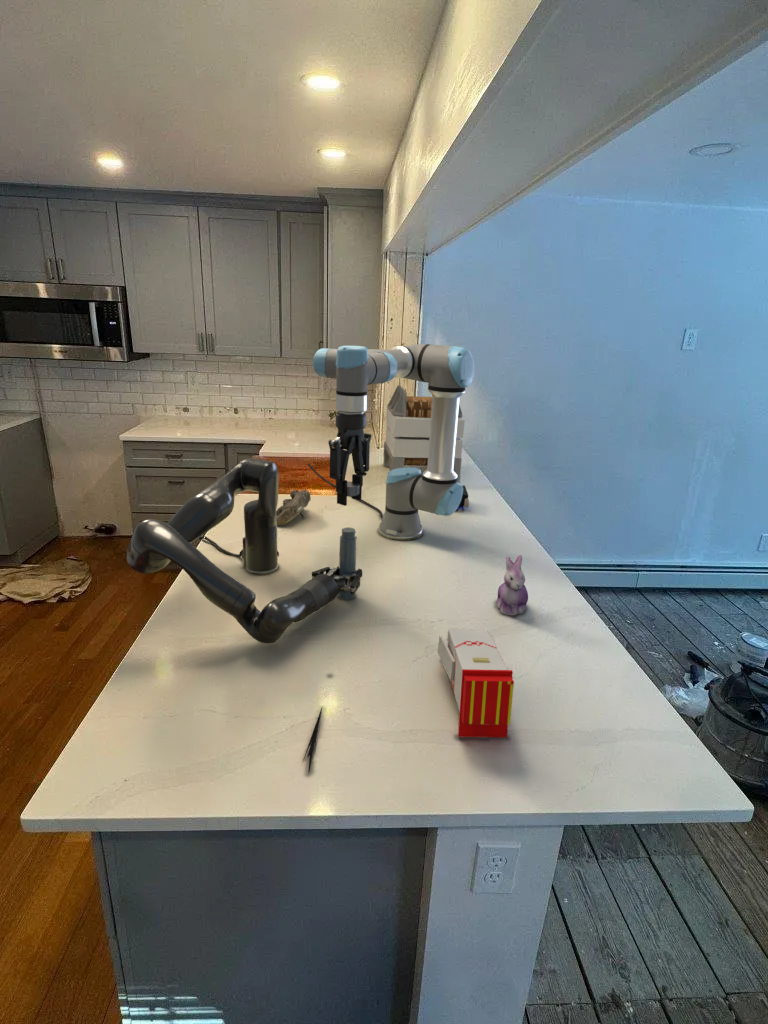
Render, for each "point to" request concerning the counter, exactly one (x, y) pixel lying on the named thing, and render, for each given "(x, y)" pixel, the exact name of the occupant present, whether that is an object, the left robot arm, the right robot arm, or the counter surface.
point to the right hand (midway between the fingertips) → (349, 501)
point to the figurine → (512, 589)
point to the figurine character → (464, 499)
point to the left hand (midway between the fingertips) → (352, 569)
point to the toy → (478, 682)
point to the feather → (313, 740)
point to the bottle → (347, 556)
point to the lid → (352, 488)
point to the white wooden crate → (413, 432)
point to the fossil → (292, 506)
